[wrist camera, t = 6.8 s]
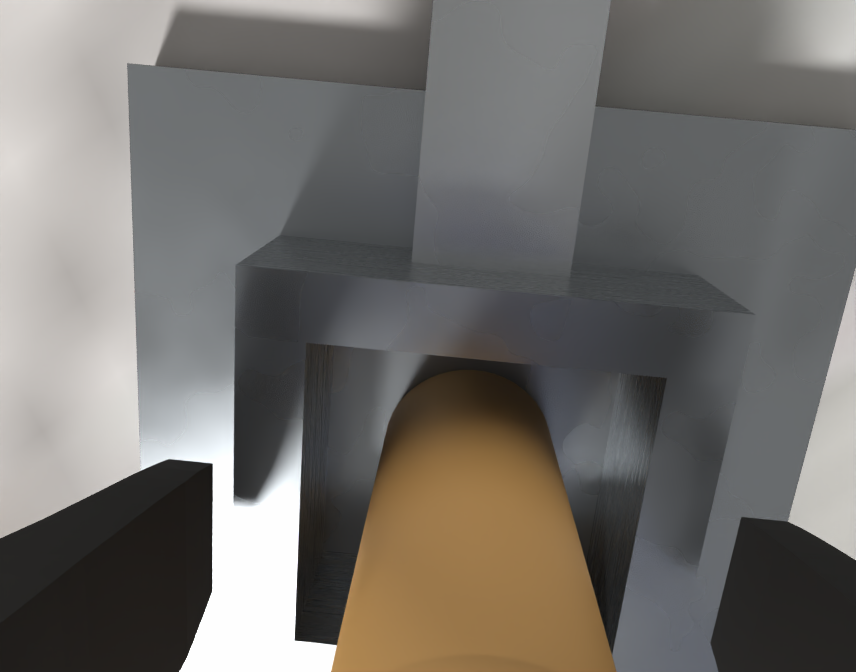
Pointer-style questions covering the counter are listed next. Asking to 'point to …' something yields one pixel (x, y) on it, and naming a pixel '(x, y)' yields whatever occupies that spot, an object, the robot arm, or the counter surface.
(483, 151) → the grey slotted socket block
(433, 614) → the round-ended pin
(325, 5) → the counter surface
